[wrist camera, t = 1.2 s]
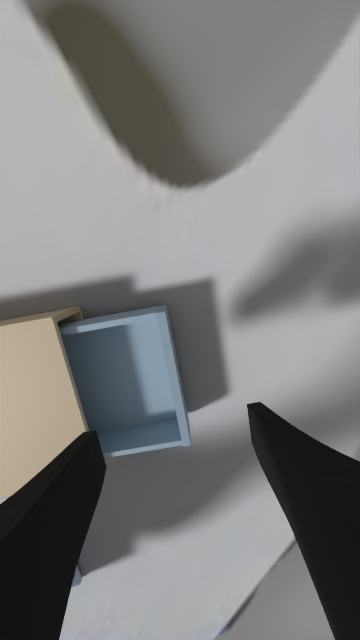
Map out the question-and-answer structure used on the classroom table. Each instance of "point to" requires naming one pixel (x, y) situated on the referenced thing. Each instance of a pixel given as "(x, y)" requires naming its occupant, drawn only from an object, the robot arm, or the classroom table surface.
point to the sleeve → (35, 396)
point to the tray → (128, 380)
